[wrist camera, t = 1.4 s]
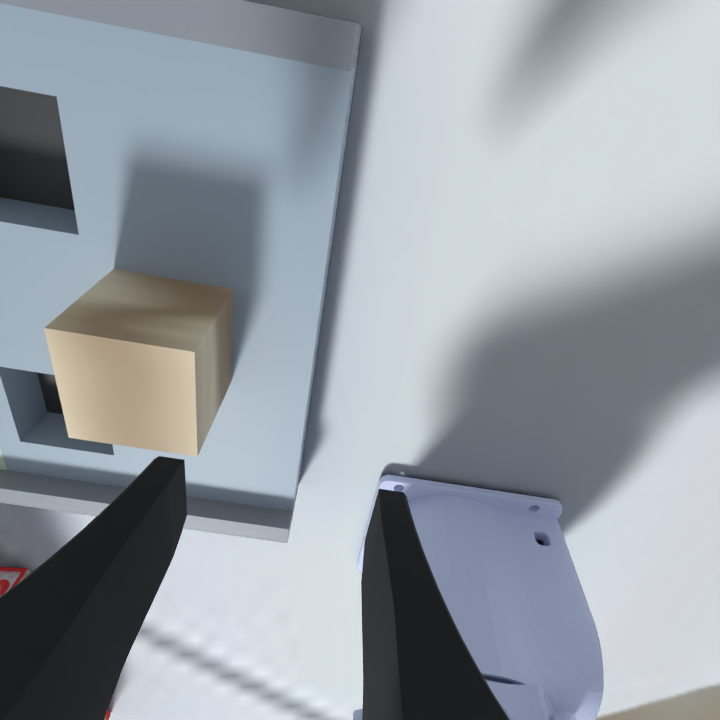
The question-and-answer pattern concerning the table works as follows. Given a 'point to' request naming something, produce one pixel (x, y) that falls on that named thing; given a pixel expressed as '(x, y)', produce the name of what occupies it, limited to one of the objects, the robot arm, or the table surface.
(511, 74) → the table surface
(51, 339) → the maple block
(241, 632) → the table surface
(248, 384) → the box
